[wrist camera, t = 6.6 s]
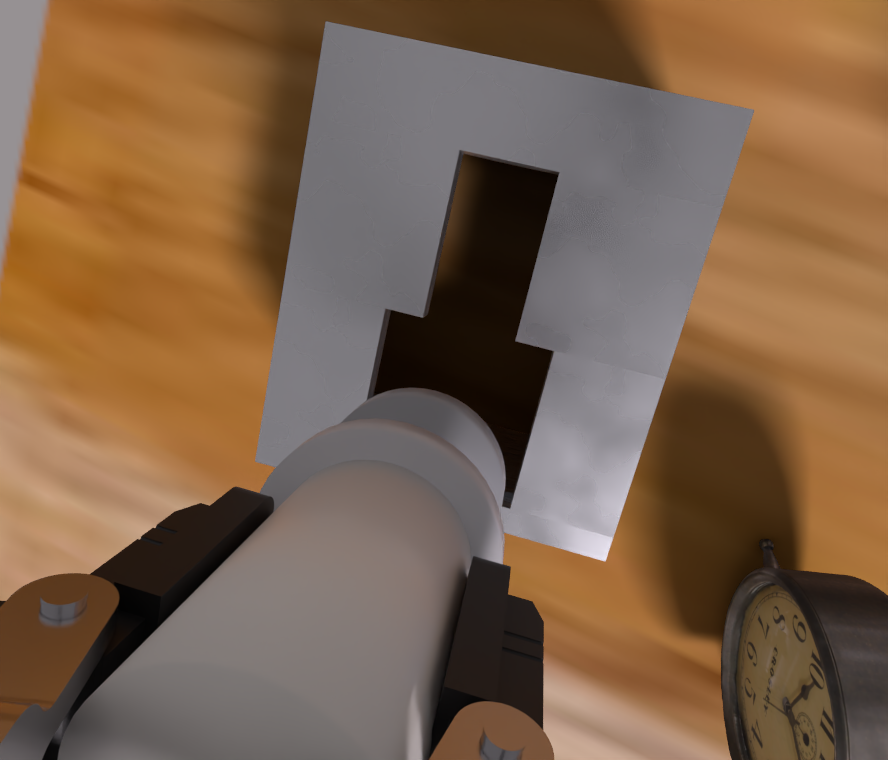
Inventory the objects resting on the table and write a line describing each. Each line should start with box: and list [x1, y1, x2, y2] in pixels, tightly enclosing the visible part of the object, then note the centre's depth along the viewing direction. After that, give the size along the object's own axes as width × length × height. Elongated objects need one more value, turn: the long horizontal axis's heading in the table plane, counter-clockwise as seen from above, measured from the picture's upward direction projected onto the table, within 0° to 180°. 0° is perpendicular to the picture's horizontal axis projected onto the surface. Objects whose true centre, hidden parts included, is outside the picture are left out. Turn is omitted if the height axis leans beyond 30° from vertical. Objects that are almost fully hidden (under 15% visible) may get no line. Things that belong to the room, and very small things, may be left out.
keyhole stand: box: [255, 21, 754, 561], centre depth 26 cm, size 16×14×9 cm
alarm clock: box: [721, 539, 888, 760], centre depth 24 cm, size 11×5×16 cm, turn 177°
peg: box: [57, 388, 506, 760], centre depth 12 cm, size 5×5×10 cm
